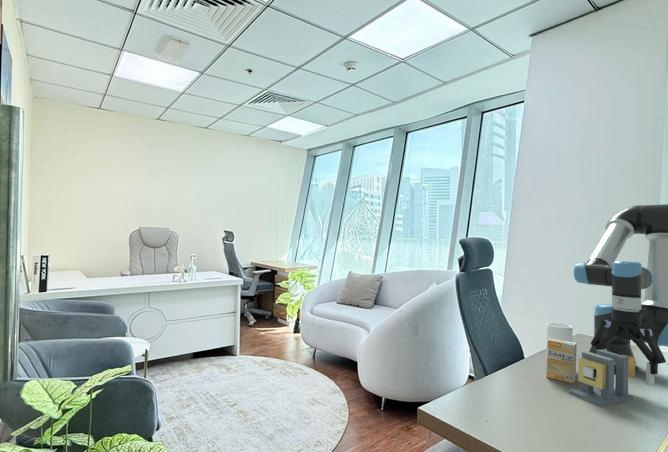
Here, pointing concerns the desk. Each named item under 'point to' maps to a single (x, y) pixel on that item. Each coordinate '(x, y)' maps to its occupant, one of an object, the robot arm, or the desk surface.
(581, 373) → the yellow square frame
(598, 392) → the bracket
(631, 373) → the shaft
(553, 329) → the white hollow tube
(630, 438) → the desk surface
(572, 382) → the supplement box
